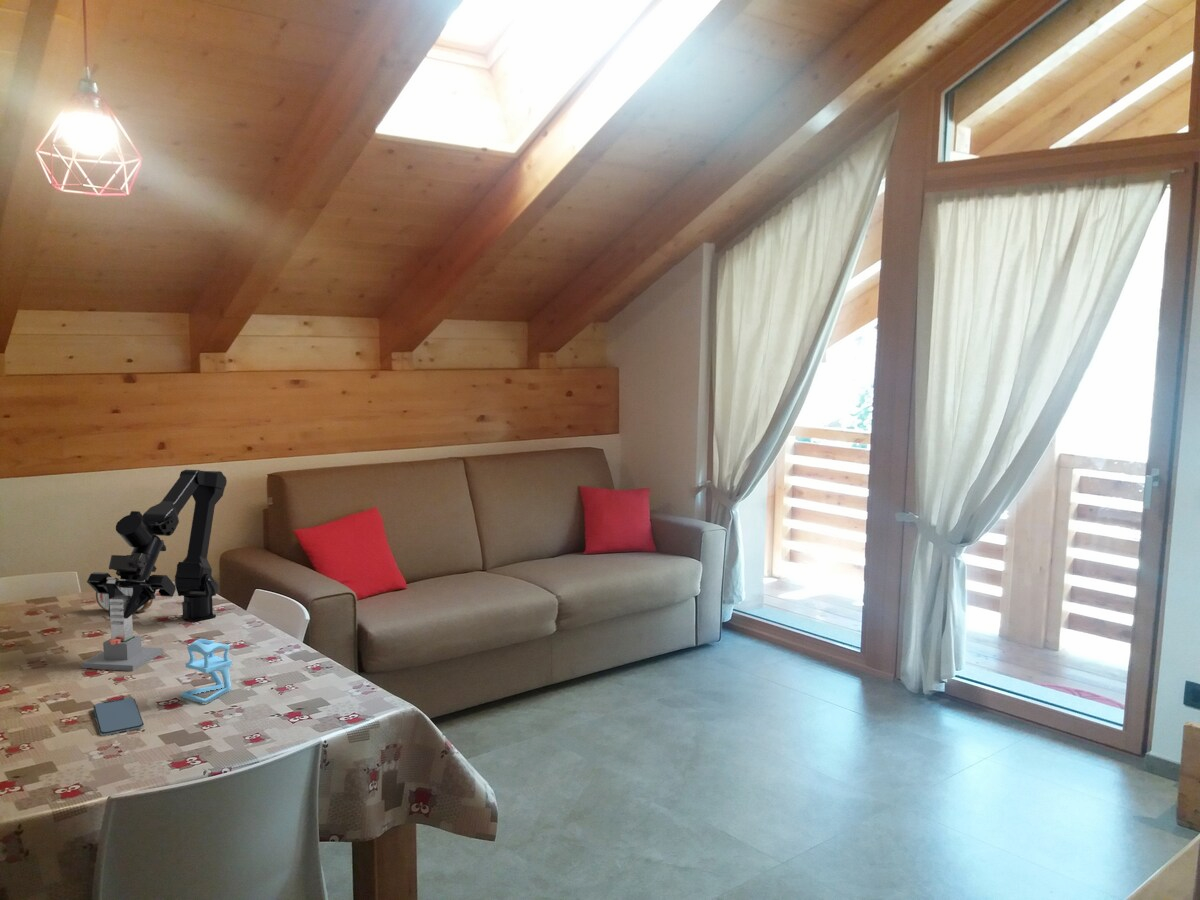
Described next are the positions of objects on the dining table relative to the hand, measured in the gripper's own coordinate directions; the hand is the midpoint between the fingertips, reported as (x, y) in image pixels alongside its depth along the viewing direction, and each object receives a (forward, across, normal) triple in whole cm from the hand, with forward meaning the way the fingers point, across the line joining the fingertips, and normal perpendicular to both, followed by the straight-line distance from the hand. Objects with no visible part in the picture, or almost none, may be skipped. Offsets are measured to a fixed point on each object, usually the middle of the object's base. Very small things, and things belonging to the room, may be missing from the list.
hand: (117, 617), depth 212 cm
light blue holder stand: (+19, +30, -4) cm, 35 cm away
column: (+4, 0, +5) cm, 6 cm away
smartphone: (+29, +18, -13) cm, 37 cm away
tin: (-18, -22, +34) cm, 44 cm away
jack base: (+7, 0, +8) cm, 11 cm away
